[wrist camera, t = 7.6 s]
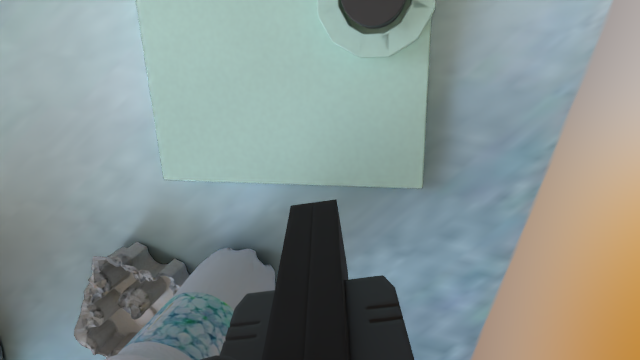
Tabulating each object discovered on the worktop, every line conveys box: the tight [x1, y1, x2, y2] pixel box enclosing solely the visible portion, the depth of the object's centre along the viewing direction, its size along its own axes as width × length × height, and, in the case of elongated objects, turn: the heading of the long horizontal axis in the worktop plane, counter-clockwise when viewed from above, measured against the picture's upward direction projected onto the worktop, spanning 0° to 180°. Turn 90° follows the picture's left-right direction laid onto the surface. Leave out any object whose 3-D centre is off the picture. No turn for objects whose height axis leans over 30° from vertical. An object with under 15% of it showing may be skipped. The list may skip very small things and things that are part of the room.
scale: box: [136, 0, 436, 189], centre depth 23 cm, size 18×14×3 cm
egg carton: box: [74, 242, 190, 358], centre depth 31 cm, size 11×8×4 cm
